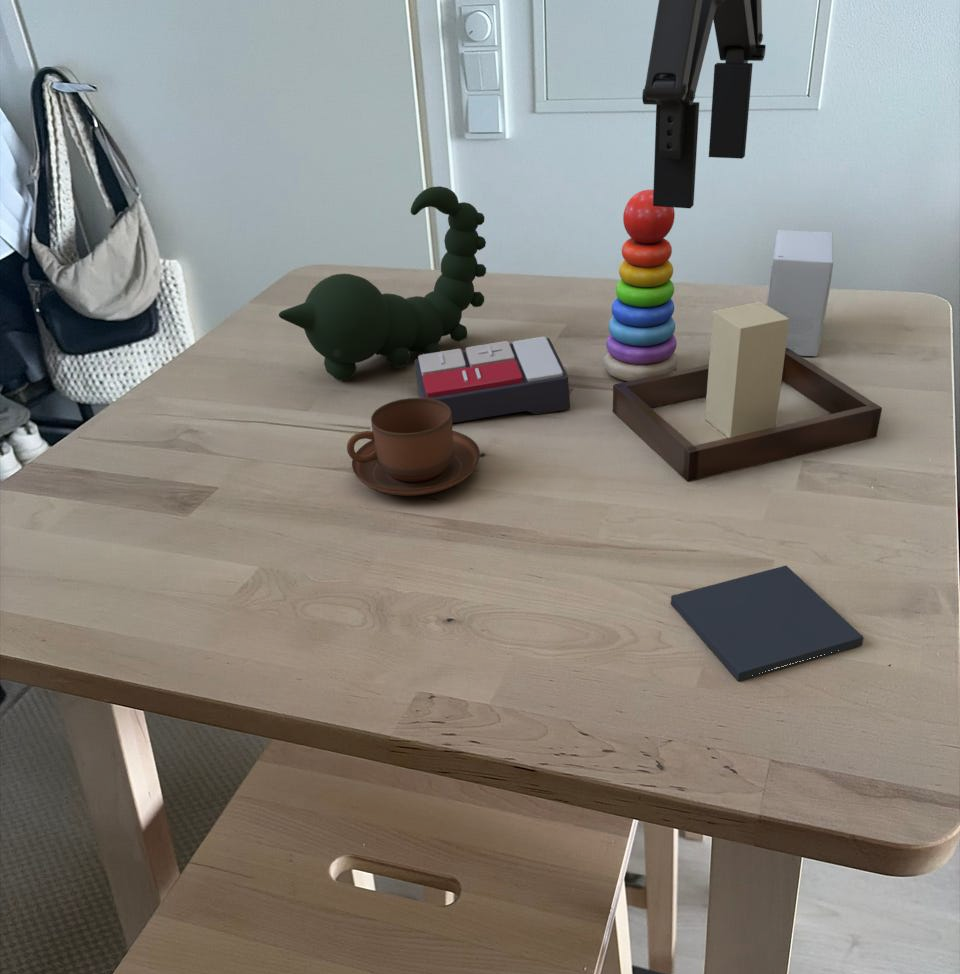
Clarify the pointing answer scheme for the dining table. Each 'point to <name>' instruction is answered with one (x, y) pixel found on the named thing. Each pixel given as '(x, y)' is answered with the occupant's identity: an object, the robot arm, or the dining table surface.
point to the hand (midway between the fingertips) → (701, 180)
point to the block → (745, 368)
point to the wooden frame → (842, 426)
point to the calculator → (495, 379)
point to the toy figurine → (396, 301)
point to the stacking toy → (643, 295)
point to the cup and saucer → (413, 449)
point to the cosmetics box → (802, 285)
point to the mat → (765, 622)
